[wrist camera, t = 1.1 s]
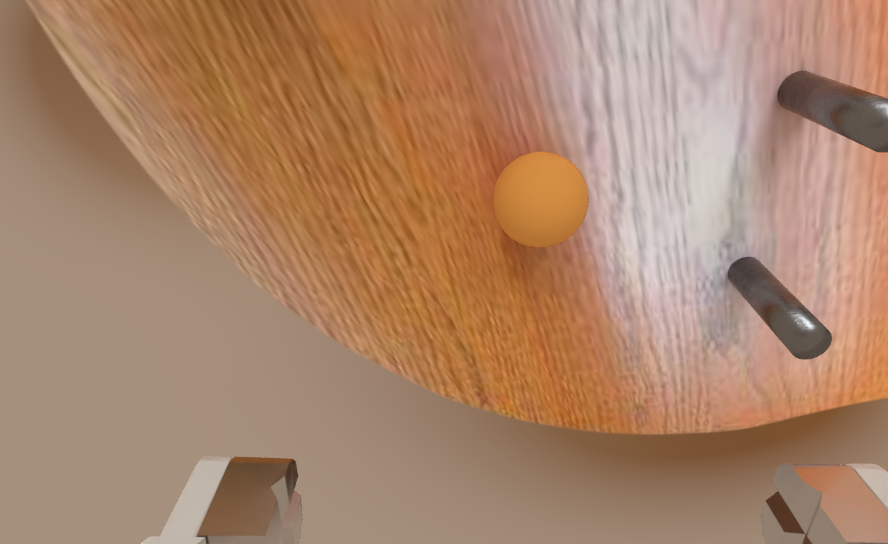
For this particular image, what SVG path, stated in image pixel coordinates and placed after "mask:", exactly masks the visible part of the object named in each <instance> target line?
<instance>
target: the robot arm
mask: <svg viewBox="0 0 888 544" xmlns="http://www.w3.org/2000/svg"><path fill="white" fill-rule="evenodd" d="M297 478H298V472H297V466H296V461H295V460H293V459H285V458H284V459H283V458H257V457H211V456H205V457H203V458H202V459H201V460H200V461H199V462H198V463H197V464H196V467H195V469H194V470H193V472H192V474H191V476H190V478H189V480H188V482H187V484H186V486H185V488H184V490H183V492H182V494H181V496H180V497H179V499H178V501H177V503H176V505H175V507H174V509H173V511H172V513H171V515H170V517H169V519H168V521H167V523H166V525H165V526H164V528H163V531H162V532H161V535H160V536H157V537H156V536H154V537H149V538H147V539H146V540H145V541H143V542H142V543H141V544H298V543H299V539H300V531H301V524H302V503H301V495H300V494H298V493H297V492H296V491H295V490H294V489H295V485H296V482H297ZM772 482H773V483H774V485H775V487H776V488H777V490H778V492H776V493H775V494H774V495H773V496H771V497H770V498H768V499H767V500H766V501H765V504H764V508H763V512H762V515H761V519H762V532H763V535H764V538H765V541H766V544H888V473H887V472H886V471H885V470H884V469H883V468H881V467H879V466H878V465H875V464H843V465H840V464H782V465H781V466H780V467H779V468H778V469H777V470H776V472H775V475H774V478H773V481H772Z"/></svg>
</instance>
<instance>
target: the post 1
mask: <svg viewBox="0 0 888 544" xmlns="http://www.w3.org/2000/svg"><path fill="white" fill-rule="evenodd" d="M728 278H729V280H730V282H731V283H732V284H733V285H734V286H735V288H736V289H737V290H738V291H739V292H740V293H741V295H742V296H743V297H744V298H745V299H746V300H747V302H748V303H749V304H750V305H751V306H752V308H753V309H754V310H755V311H756V312H757V313H758V315H759V316H760V317H761V318H762V319H763V320H764V322H765V323H766V324H767V325H768V326H769V327H770V329H771V330H772V331H773V332H774V333H775V335H776V336H777V337H778V338H779V339H780V340H781V342H782V343H783V344H784V345H785V346H786V347H787V349H788V350H789V351H790V352H791V353H792V354H793V355H794V356H795V357H796V358H799V359H812V358H815V357H818V356H819V355H821V354H823V353H824V352H825V351H826V350H827V349H828V348H829V346H830V344H831V341H832V336H831V333H830V332H829V330H828V329H827V328H826V327H825V326H824V325H823V324H822V323H821V322H820V321H819V320H818V319H817V318H816V317H815V316H814V315H813V314H812V313H811V312H810V311H809V310H808V309H807V308H806V307H805V306H804V305H803V304H802V303H801V302H800V301H799V300H798V299H797V298H796V297H795V296H794V295H793V294H792V293H791V292H790V291H789V290H788V289H787V288H786V287H785V286H784V285H783V284H782V283H781V282H780V281H779V280H778V279H777V278H776V277H775V276H774V275H773V274H772V273H771V272H770V271H769V270H768V269H767V268H766V267H765V266H764V265H763V264H762V263H761V262H760V261H759V260H757V259H756V258H753V257H745V258H741V259H739V260H737V261H736V262H734V263H733V264H732V266H731V267H730V269H729V271H728Z"/></svg>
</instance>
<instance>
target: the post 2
mask: <svg viewBox="0 0 888 544" xmlns="http://www.w3.org/2000/svg"><path fill="white" fill-rule="evenodd" d="M778 100H779V103H780V104H781V106H782V107H784V108H785V109H787V110H789V111H792V112H794V113H796V114H798V115H800V116H802V117H804V118H806V119H809V120H811V121H813V122H815V123H817V124H819V125H821V126H823V127H825V128H828V129H830V130H832V131H834V132H836V133H838V134H840V135H842V136H845V137H847V138H849V139H851V140H853V141H855V142H857V143H859V144H861V145H864V146H866V147H868V148H870V149H872V150H874V151H877V152H888V99H887V98H884V97H881V96H878V95H875V94H872V93H869V92H866V91H863V90H860V89H857V88H855V87H852V86H849V85H846V84H843V83H840V82H837V81H834V80H831V79H828V78H825V77H822V76H819V75H816V74H813V73H810V72H807V71H799V72H795V73H793V74H791V75H790V76H788V77H787V78H786V79H785V80H784V81H783V83H782V84H781V86H780V88H779V91H778Z"/></svg>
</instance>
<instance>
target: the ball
mask: <svg viewBox="0 0 888 544" xmlns="http://www.w3.org/2000/svg"><path fill="white" fill-rule="evenodd" d="M588 200H589V198H588V189H587V185H586V182H585V180H584V177H583V176H582V174H581V172H580V171H579V170H578V168H577V167H576V166H575V165H574V164H573V163H572V162H570V161H569V160H567V159H566V158H564V157H562V156H560V155H557V154H554V153H550V152H534V153H529V154H526V155H523V156H521V157H519V158H517V159H515V160H514V161H512V162H511V163H510V164H509V165H508V166H507V167H506V168H505V169H504V170H503V171H502V172H501V174H500V176H499V177H498V179H497V182H496V184H495V187H494V191H493V211H494V214H495V217H496V219H497V222H498V224H499V225H500V227H501V228H502V229H503V231H504V232H505V233H506V234H507V235H508V236H509V237H511V238H512V239H514V240H515V241H517V242H519V243H521V244H523V245H526V246H531V247H548V246H552V245H556V244H558V243H561V242H563V241H564V240H566V239H567V238H569V237H570V236H571V235H572V234H574V233H575V232H576V230H577V229H578V228H579V227H580V225H581V224H582V222H583V220H584V218H585V215H586V212H587V208H588Z"/></svg>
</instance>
